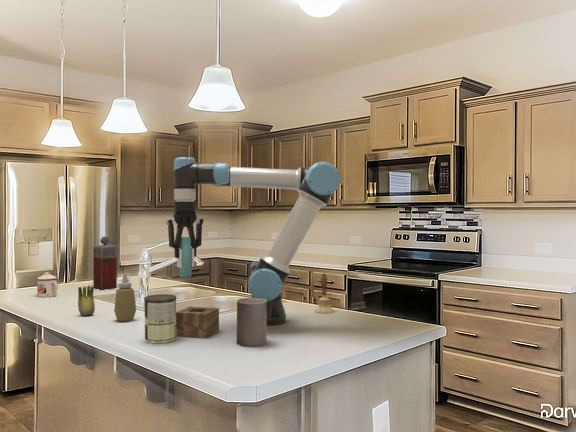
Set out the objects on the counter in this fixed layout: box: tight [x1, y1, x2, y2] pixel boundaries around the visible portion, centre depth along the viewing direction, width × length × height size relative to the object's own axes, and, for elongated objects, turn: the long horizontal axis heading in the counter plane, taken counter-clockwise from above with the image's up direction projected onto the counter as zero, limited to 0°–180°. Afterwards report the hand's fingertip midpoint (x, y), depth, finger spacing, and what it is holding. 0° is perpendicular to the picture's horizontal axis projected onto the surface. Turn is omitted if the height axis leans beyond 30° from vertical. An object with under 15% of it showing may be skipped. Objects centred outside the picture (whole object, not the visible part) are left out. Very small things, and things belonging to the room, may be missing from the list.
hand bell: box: [314, 273, 335, 314], centre depth 217 cm, size 8×8×16 cm
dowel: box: [179, 236, 192, 278], centre depth 185 cm, size 4×4×14 cm
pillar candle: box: [235, 296, 267, 348], centre depth 166 cm, size 10×10×15 cm
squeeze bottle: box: [113, 273, 137, 322], centre depth 199 cm, size 8×8×18 cm
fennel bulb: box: [77, 285, 96, 317], centre depth 208 cm, size 6×5×12 cm
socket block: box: [176, 306, 220, 339], centre depth 179 cm, size 11×11×8 cm
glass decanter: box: [92, 236, 118, 291], centre depth 279 cm, size 9×11×28 cm
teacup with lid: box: [36, 271, 59, 298], centre depth 254 cm, size 12×9×12 cm
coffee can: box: [143, 293, 177, 344], centre depth 170 cm, size 10×10×14 cm
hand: (185, 266), depth 185 cm, fingers closed on dowel, 4 cm apart
